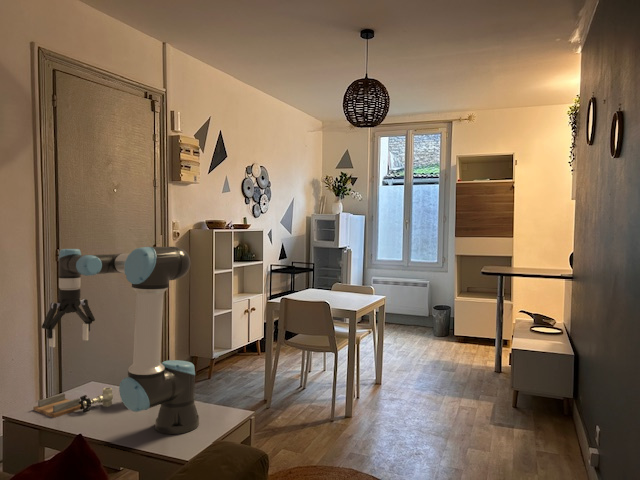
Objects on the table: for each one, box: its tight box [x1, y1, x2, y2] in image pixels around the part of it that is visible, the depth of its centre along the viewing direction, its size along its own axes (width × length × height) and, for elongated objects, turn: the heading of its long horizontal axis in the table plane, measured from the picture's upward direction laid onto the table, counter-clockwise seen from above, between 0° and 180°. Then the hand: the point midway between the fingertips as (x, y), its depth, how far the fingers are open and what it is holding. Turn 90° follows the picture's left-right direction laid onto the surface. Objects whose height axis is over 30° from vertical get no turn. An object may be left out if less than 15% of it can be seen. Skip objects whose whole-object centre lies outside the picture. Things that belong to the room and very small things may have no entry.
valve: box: [79, 386, 114, 413], centre depth 191 cm, size 7×7×12 cm
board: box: [33, 392, 85, 419], centre depth 188 cm, size 14×12×4 cm
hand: (69, 343), depth 188 cm, fingers open, 13 cm apart
